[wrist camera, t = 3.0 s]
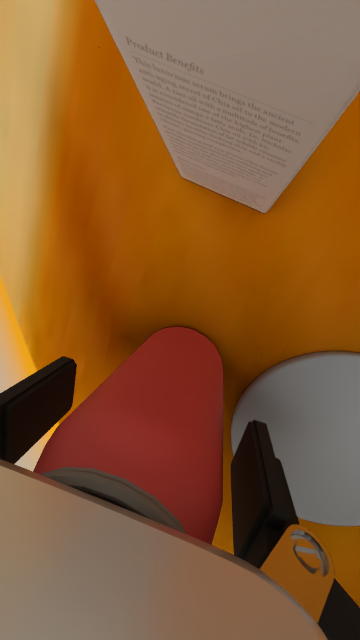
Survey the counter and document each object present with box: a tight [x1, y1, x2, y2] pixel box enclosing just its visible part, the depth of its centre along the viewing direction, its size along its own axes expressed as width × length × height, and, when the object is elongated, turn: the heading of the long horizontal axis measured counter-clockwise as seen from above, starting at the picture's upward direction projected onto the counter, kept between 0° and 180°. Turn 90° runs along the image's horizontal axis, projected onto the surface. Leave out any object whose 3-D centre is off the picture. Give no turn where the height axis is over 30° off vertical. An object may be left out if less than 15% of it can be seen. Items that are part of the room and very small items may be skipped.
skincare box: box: [95, 0, 360, 213], centre depth 7 cm, size 6×4×12 cm
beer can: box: [33, 327, 223, 545], centre depth 11 cm, size 7×7×12 cm
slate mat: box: [231, 351, 360, 526], centre depth 16 cm, size 14×14×1 cm
